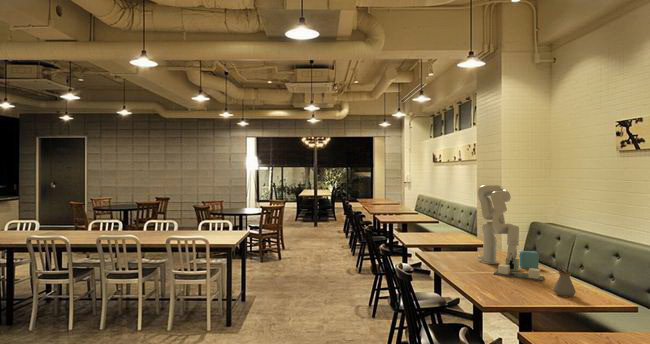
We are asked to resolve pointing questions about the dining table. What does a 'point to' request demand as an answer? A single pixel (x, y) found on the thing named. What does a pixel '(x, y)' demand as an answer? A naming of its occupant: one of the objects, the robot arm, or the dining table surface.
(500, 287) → the dining table surface
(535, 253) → the data package
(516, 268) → the module block
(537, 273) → the mounted modules
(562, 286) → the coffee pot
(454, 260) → the dining table surface
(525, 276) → the rail plate
